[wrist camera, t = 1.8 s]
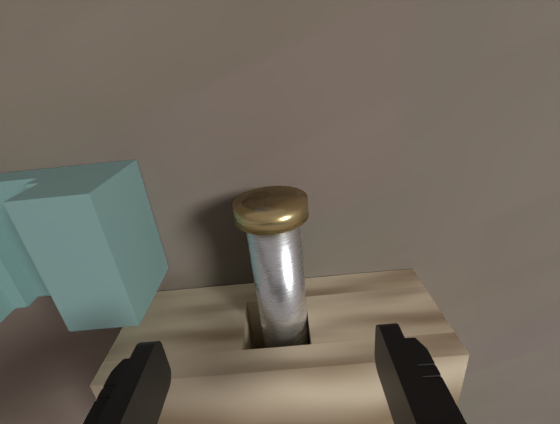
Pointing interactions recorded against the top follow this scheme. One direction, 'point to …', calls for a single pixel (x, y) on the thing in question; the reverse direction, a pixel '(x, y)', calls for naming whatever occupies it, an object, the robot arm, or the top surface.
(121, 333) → the beam
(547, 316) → the top surface
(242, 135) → the top surface
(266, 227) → the axle
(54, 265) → the v block
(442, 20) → the top surface
